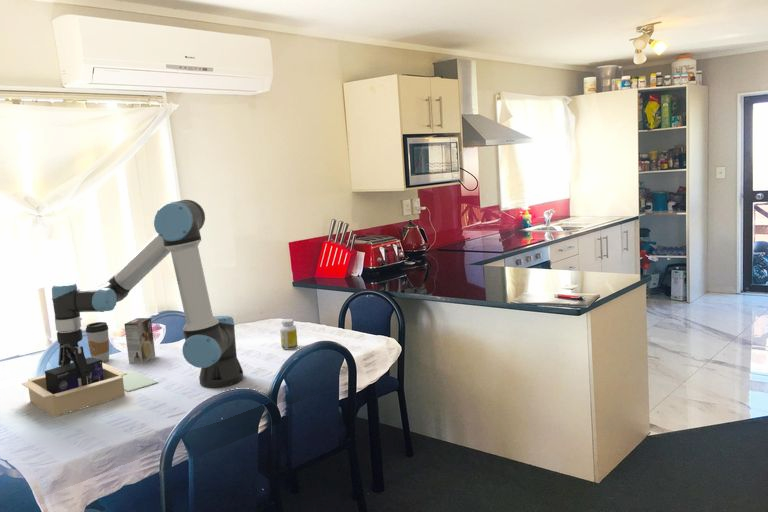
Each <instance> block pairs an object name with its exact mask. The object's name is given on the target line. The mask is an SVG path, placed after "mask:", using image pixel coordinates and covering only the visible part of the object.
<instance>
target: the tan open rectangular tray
mask: <svg viewBox="0 0 768 512" xmlns="http://www.w3.org/2000/svg"><path fill="white" fill-rule="evenodd" d="M102 366H103V377H104V380H102V381H99V382H95V383H92V384H88V385H85V386H81V387H78V388H74V389H70V390H67V391H63V392H60V393H56V394H52V393H50V392H49V391H47V387H46V377H45V374H44V375H40V376H36V377H32V378H29V379H28V380H27V381H26V382H22V383H21V385H22V386H24V387H25V388H27V389H28V395H29V400H30V401H29V402H30V403H32V404H34V405H35V406H36V407H38V408H40V409H41V410H43V411H44V412H46V413H47V414H49V415H51V417H54V418H55V417H59V416H62V415H61V414H63V415H65V414H64V413H66V414H68V413H67V412H69V413H71V412H70V411H72V412H75V411H74V410H76V411H79V410H81V409H80V408H82V409H85V408H84V407H86V408H88V407H87V406H89V407H91V405H92V406H94V405H98V403H99V404H102V403H104V401H105V402H107V400H108V401H112V400H115V399H119V398H121V397H124V396H126V394H125V392H126V391H125V390H124V384H123V375H127V373H125V372H126V371H122V370H120V369H119V368H116V367H114V366H111V365H109V364H108V363H107V364H106V362H103V363H102ZM111 399H112V400H111ZM78 409H79V410H78Z"/></svg>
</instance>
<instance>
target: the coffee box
mask: <svg viewBox="0 0 768 512" xmlns="http://www.w3.org/2000/svg"><path fill="white" fill-rule="evenodd" d="M124 331H125V340H126V349H127V357H128V364H144V363H146V362H147V361H149V360H151V359H152V358H154V357H156V350H155V341H154V334H153V324H152V318H151V317H137V318H135V319H133V320H129V321H128V322H126V323H124Z"/></svg>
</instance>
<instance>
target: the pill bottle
mask: <svg viewBox="0 0 768 512" xmlns="http://www.w3.org/2000/svg"><path fill="white" fill-rule="evenodd" d="M281 325H282V326H281V327H280V328H279V329H280V343H281V349H282V348H283V349H282V350H285V349H291V350H294V348H295V349H297V348H298V346H299V345H298V333H297V327H296V325H294V319H293V318H285V319H282V320H281ZM296 347H297V348H296Z"/></svg>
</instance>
